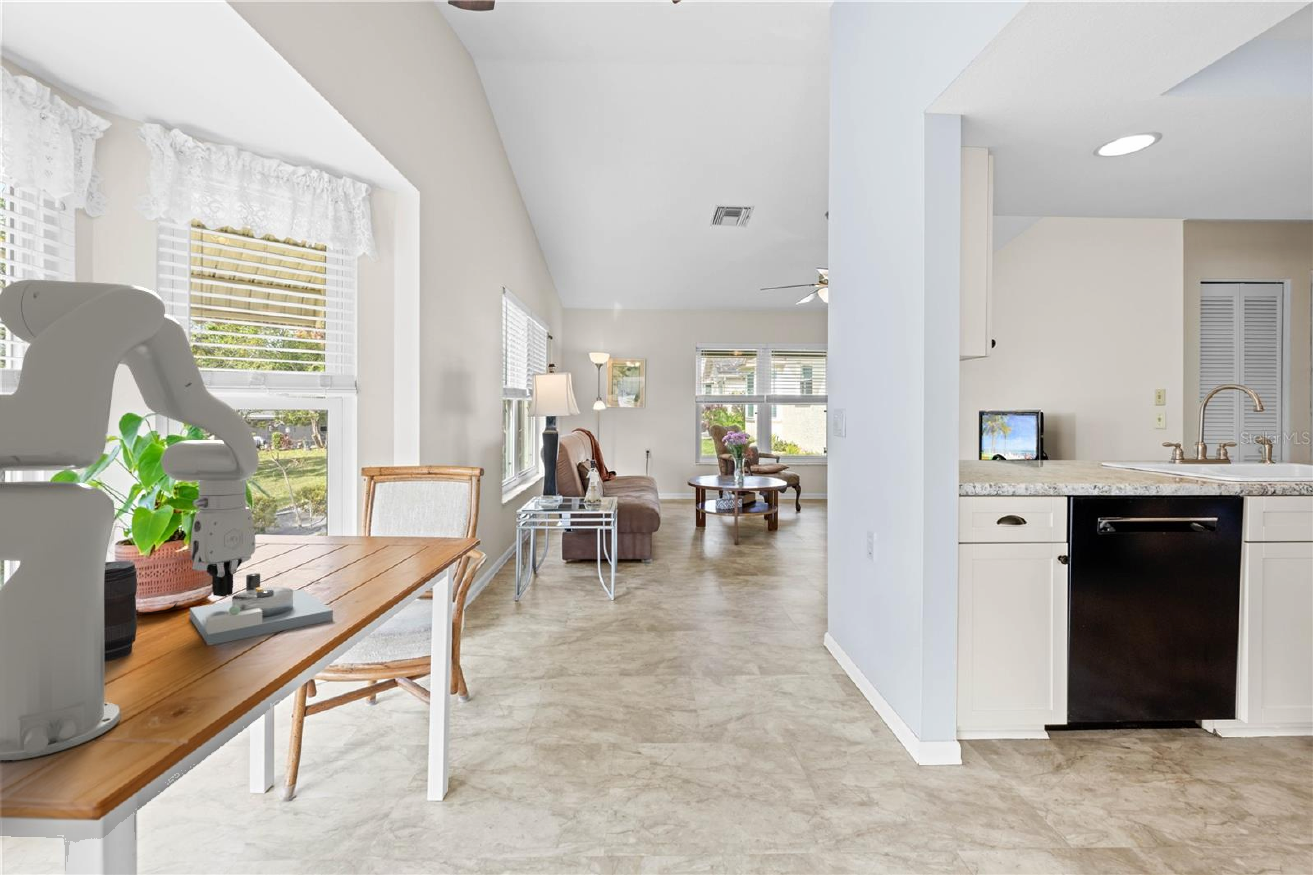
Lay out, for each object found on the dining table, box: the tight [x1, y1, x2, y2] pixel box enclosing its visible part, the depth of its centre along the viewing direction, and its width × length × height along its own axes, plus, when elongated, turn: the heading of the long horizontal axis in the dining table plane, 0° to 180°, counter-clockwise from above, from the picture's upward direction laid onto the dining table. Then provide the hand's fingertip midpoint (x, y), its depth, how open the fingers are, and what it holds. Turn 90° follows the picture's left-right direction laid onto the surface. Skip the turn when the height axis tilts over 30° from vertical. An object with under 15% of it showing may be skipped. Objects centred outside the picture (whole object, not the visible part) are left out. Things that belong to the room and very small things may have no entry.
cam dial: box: [231, 572, 294, 616], centre depth 118 cm, size 15×10×5 cm
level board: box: [189, 589, 334, 646], centre depth 118 cm, size 20×20×6 cm
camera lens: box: [104, 560, 138, 662], centre depth 98 cm, size 8×8×15 cm
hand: (222, 594), depth 117 cm, fingers closed
